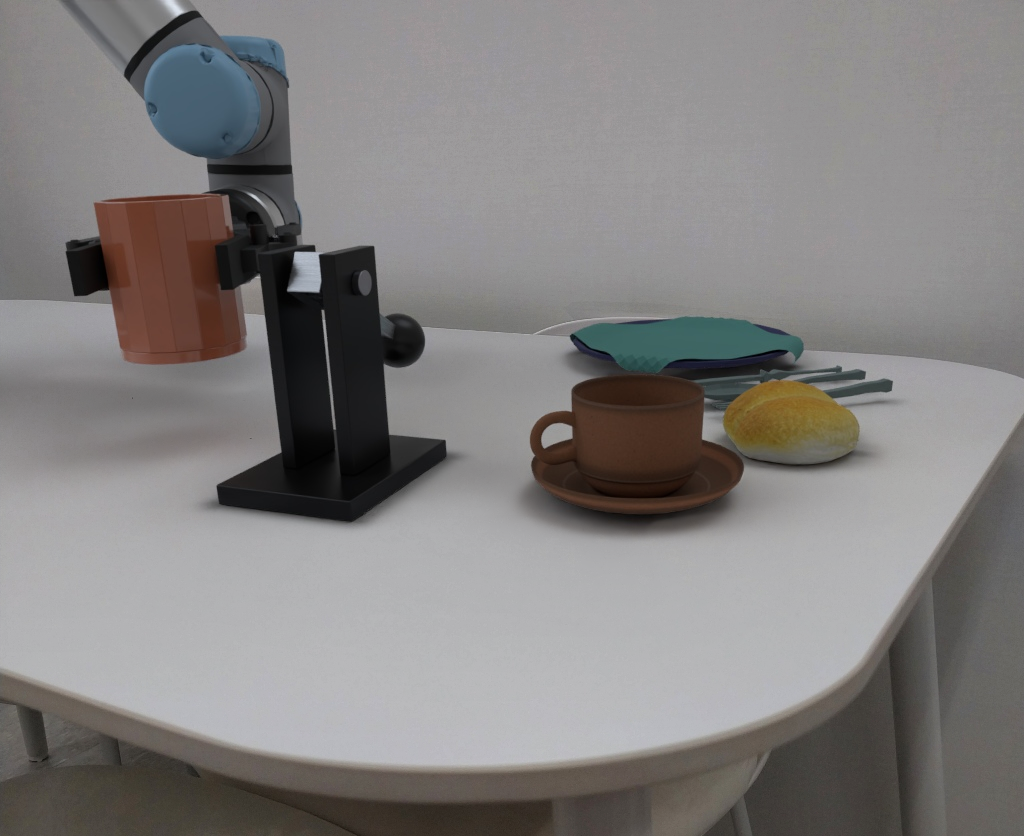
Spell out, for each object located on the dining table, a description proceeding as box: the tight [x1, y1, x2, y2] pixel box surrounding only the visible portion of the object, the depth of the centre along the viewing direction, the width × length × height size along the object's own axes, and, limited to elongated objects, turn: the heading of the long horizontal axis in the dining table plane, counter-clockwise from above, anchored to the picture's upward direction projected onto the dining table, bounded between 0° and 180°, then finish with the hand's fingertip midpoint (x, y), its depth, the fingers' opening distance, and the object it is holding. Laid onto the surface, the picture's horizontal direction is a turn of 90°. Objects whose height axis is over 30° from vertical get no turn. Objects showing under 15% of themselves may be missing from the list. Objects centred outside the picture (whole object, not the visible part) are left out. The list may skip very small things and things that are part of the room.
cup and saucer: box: [529, 373, 745, 515], centre depth 55 cm, size 12×12×6 cm
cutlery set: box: [569, 315, 894, 412], centre depth 83 cm, size 20×30×2 cm, turn 16°
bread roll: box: [722, 379, 861, 465], centre depth 63 cm, size 8×9×4 cm
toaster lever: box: [287, 251, 426, 369], centre depth 60 cm, size 13×4×4 cm
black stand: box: [215, 244, 448, 522], centre depth 57 cm, size 12×9×14 cm
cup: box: [93, 193, 248, 366], centre depth 64 cm, size 8×8×10 cm
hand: (150, 270), depth 59 cm, fingers closed on cup, 8 cm apart
